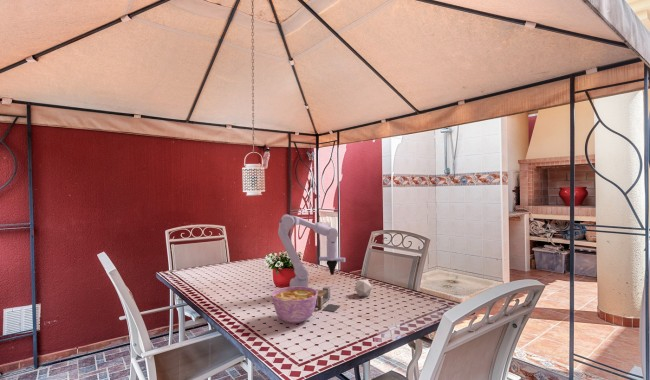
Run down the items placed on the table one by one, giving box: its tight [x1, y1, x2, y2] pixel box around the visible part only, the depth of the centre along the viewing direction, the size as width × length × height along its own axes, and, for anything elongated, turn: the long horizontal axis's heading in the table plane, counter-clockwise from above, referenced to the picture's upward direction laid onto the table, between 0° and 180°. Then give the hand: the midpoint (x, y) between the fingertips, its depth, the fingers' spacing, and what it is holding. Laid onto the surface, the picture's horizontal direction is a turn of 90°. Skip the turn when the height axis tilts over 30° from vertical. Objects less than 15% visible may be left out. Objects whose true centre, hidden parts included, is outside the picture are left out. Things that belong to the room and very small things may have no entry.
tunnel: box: [315, 289, 327, 311], centre depth 155 cm, size 6×8×7 cm
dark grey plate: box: [322, 303, 341, 313], centre depth 152 cm, size 6×8×1 cm
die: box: [354, 279, 373, 298], centre depth 170 cm, size 8×9×10 cm
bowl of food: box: [271, 286, 318, 325], centre depth 139 cm, size 20×20×12 cm
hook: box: [315, 286, 331, 307], centre depth 161 cm, size 10×15×6 cm
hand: (332, 274), depth 175 cm, fingers closed
